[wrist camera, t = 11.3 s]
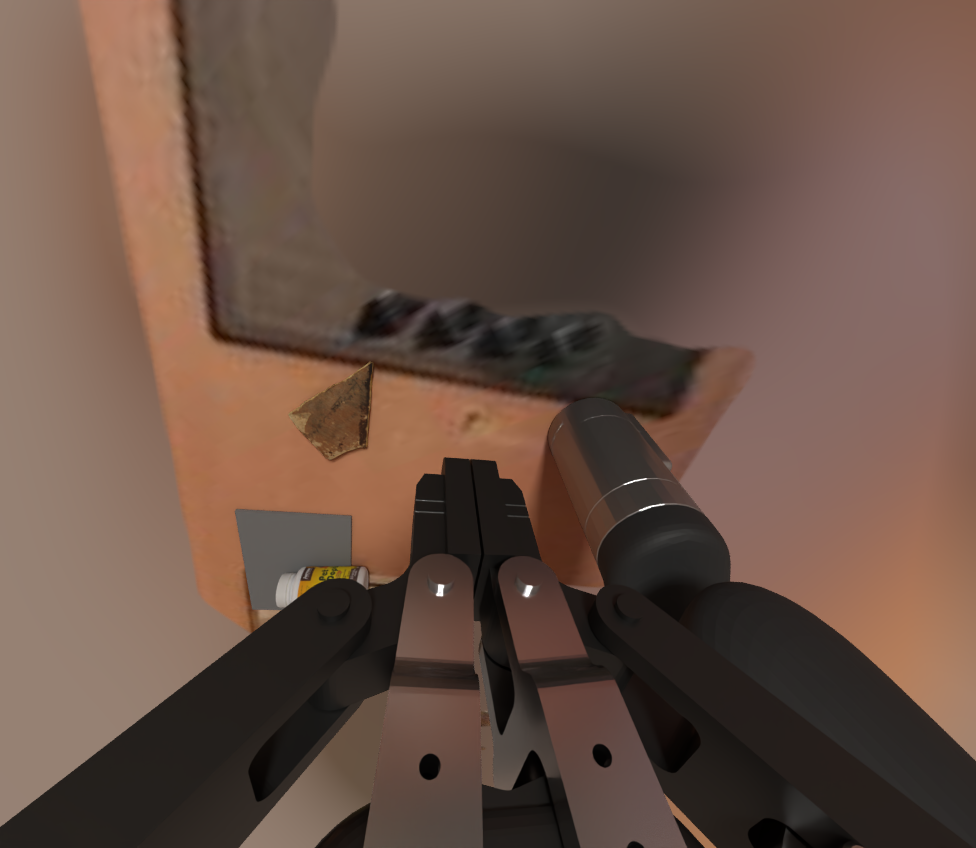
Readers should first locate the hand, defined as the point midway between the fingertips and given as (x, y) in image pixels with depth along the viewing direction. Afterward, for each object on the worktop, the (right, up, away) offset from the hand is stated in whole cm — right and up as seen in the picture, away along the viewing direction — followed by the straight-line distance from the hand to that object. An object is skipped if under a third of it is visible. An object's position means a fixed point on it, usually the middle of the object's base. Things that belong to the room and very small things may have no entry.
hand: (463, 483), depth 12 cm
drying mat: (-24, -17, +41) cm, 50 cm away
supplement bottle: (-15, -19, +40) cm, 47 cm away
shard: (-15, +4, +31) cm, 34 cm away
